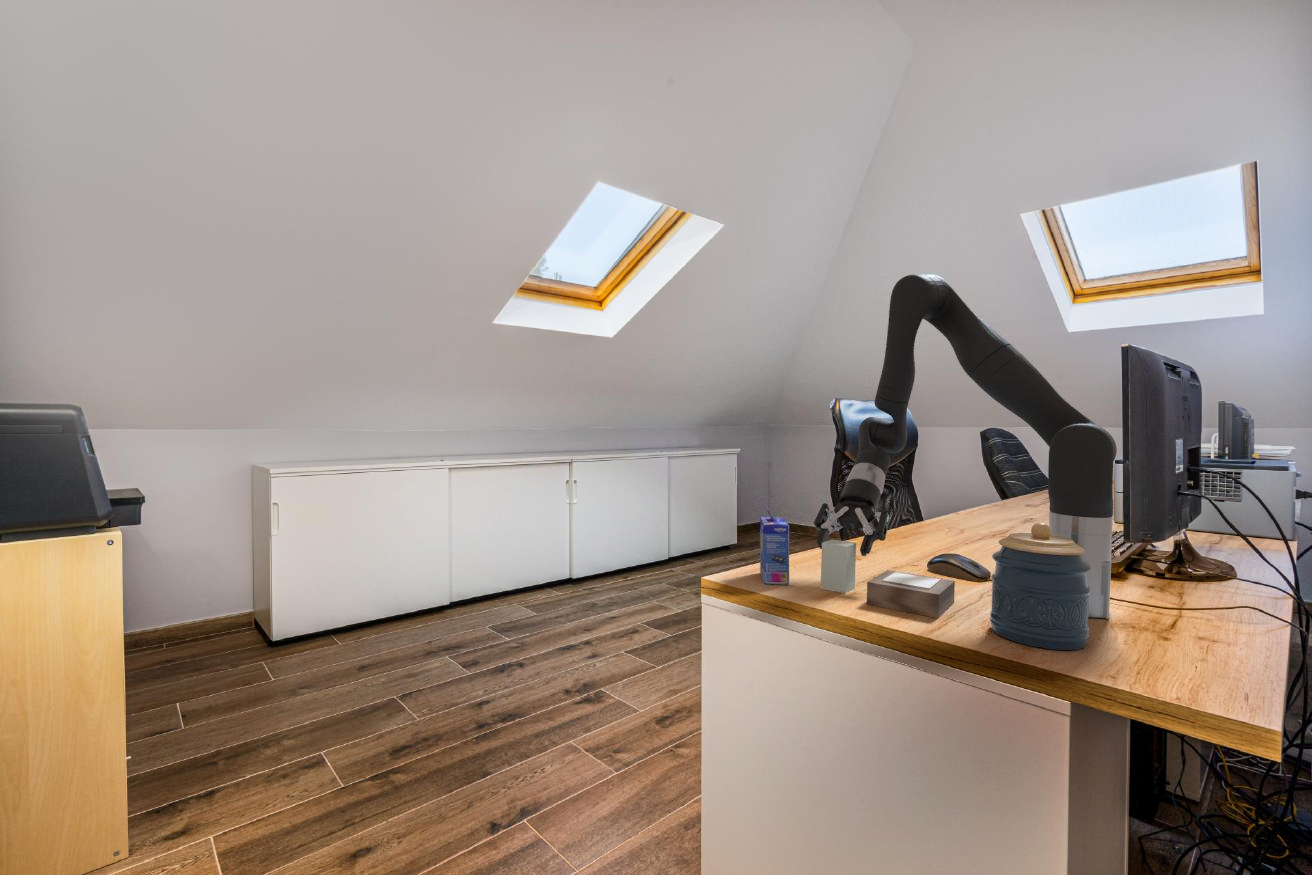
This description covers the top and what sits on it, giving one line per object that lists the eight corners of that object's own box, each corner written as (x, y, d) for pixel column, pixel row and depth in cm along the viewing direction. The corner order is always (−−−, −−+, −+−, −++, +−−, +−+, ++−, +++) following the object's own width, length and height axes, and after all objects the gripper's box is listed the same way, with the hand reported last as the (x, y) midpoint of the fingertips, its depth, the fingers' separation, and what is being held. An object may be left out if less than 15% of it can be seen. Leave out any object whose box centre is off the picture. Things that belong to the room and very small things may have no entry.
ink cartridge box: (758, 572, 130) (759, 505, 130) (784, 573, 130) (785, 506, 130) (761, 584, 121) (763, 512, 120) (789, 585, 120) (791, 513, 120)
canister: (980, 636, 93) (984, 522, 92) (998, 617, 102) (1002, 513, 102) (1084, 659, 84) (1089, 533, 84) (1092, 635, 94) (1097, 523, 94)
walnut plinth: (954, 602, 111) (954, 579, 110) (938, 618, 101) (939, 592, 101) (887, 590, 118) (887, 568, 118) (866, 603, 108) (867, 580, 108)
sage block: (854, 588, 119) (856, 542, 119) (845, 593, 115) (847, 546, 115) (830, 583, 122) (831, 539, 122) (820, 588, 118) (821, 542, 118)
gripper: (826, 474, 131) (802, 534, 122) (894, 480, 122) (873, 544, 114) (835, 497, 136) (812, 555, 127) (900, 503, 127) (881, 567, 118)
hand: (841, 550), depth 120 cm, fingers open, 8 cm apart
